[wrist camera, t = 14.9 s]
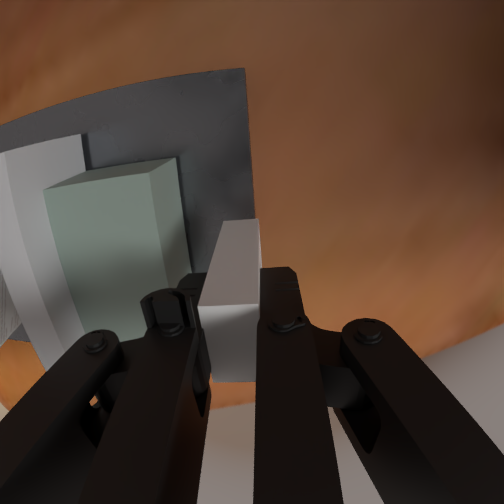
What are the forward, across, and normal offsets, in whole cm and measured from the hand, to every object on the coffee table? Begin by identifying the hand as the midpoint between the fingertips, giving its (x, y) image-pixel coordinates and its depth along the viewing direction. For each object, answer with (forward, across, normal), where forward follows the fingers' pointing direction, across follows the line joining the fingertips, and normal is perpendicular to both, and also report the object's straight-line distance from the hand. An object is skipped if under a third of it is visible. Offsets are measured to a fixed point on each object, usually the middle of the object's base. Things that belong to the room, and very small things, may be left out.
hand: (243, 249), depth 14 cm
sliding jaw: (+2, -6, 0) cm, 7 cm away
